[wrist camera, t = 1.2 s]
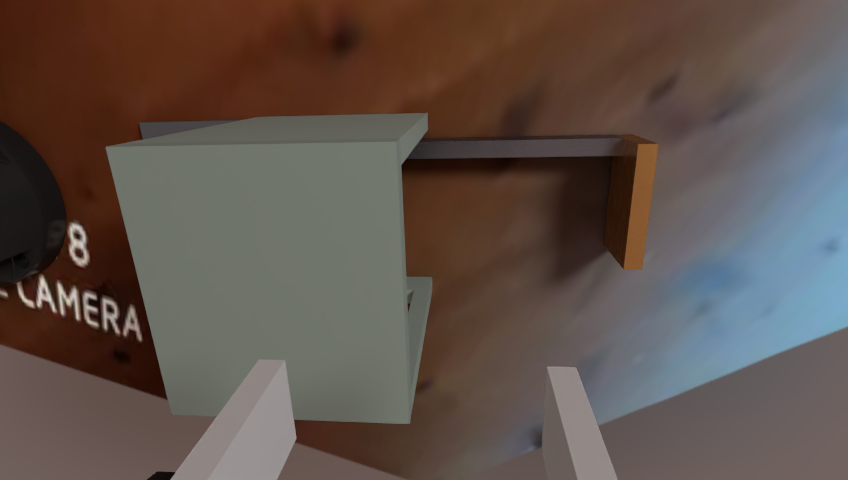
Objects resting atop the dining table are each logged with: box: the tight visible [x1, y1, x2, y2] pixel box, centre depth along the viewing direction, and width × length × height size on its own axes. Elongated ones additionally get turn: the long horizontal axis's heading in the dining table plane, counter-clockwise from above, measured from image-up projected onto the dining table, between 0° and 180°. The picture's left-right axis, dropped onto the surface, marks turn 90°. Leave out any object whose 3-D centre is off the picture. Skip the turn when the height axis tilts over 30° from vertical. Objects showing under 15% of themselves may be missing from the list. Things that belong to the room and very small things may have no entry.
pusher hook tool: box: [406, 134, 658, 270], centre depth 35 cm, size 28×10×5 cm, turn 92°
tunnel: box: [106, 113, 432, 424], centre depth 30 cm, size 13×14×16 cm
